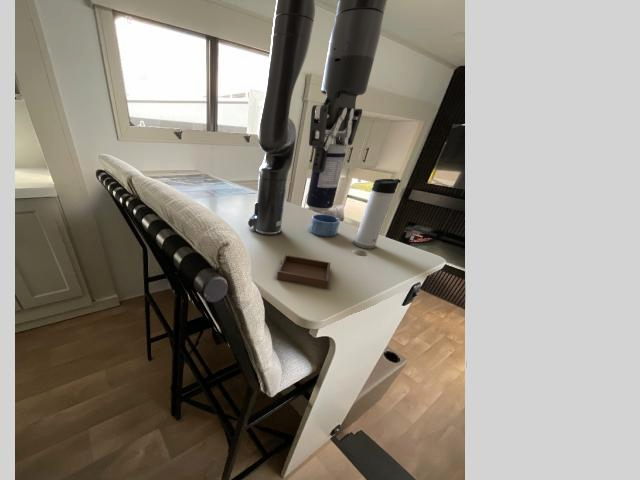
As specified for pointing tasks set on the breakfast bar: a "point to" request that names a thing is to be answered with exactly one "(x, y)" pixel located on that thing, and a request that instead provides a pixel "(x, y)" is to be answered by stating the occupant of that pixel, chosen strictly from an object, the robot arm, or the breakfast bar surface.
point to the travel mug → (375, 212)
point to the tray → (304, 271)
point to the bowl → (324, 225)
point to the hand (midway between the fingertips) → (326, 170)
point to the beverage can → (326, 180)
